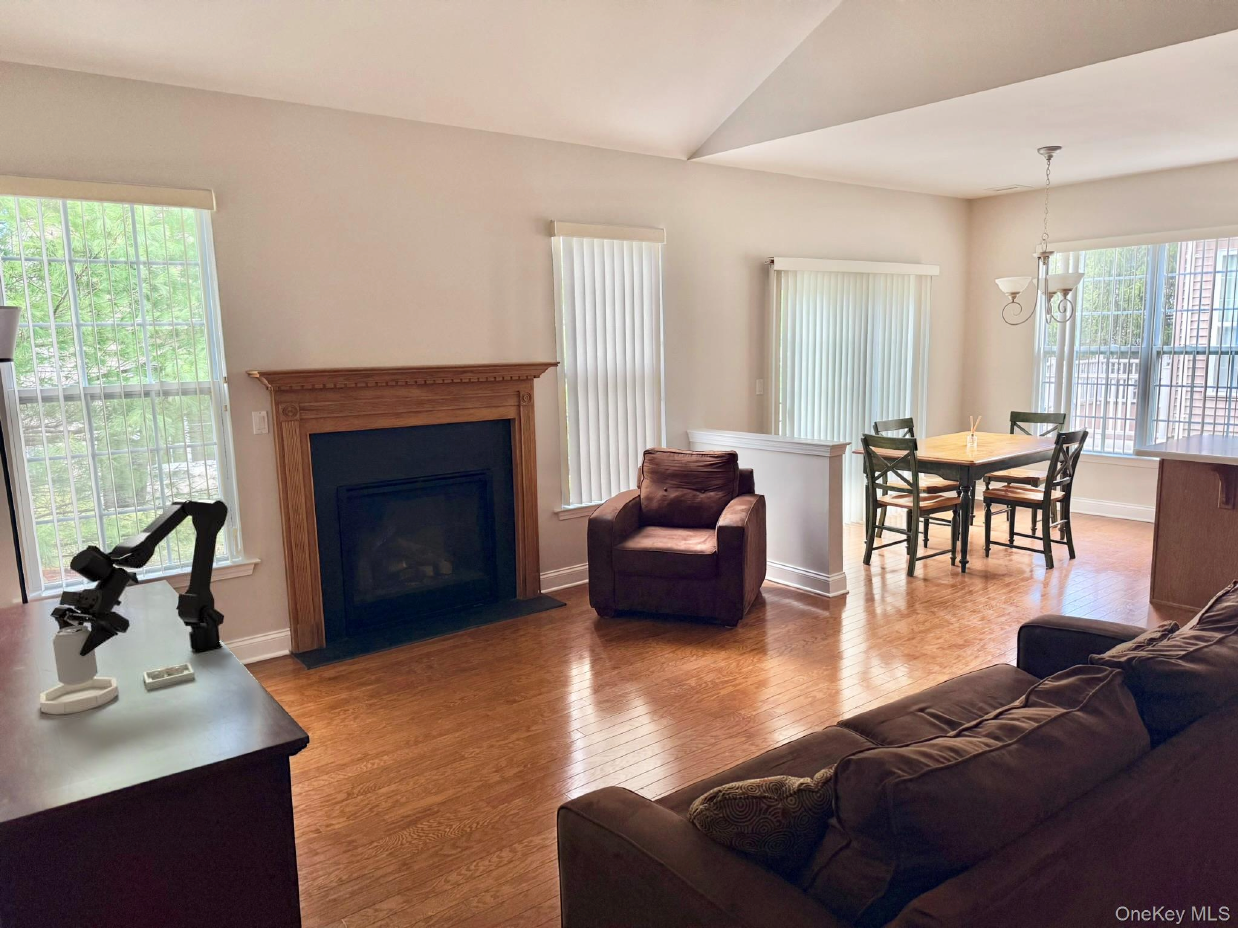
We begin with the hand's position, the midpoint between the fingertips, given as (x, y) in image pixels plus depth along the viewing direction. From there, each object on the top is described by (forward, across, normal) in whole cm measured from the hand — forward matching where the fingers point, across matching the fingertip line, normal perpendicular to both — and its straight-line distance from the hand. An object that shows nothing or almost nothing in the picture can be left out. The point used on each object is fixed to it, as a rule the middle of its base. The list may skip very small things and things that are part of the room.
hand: (69, 653), depth 187 cm
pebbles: (-3, +10, +20) cm, 22 cm away
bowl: (+7, 0, +9) cm, 11 cm away
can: (+4, 0, +6) cm, 7 cm away
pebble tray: (-3, +10, +20) cm, 22 cm away
